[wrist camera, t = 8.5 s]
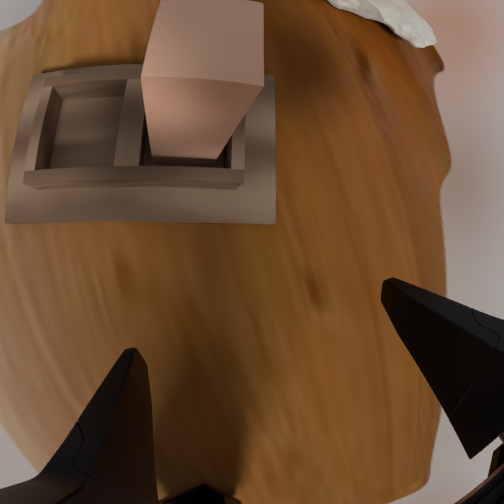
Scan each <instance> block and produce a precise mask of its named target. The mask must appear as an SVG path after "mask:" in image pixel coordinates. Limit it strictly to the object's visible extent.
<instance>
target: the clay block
mask: <svg viewBox="0 0 504 504" xmlns="http://www.w3.org/2000/svg"><path fill="white" fill-rule="evenodd" d="M141 83H142V92H143V100H144V107H145V114H146V121H147V128H148V135H149V141H150V147H151V153H152V159H153V164H175V165H201V166H213V164H214V163H215V161H216V160H217V158H218V156H219V155H220V153H221V151H222V150H223V148H224V146H225V145H226V143H227V142H228V140H229V138H230V137H231V135H232V134H233V132H234V131H235V129H236V127H237V126H238V124H239V123H240V121H241V120H242V118H243V117H244V115H245V114H246V112H247V111H248V109H249V108H250V106H251V105H252V103H253V102H254V100H255V99H256V97H257V96H258V94H259V93H260V91H261V90H262V88H263V87H264V6H263V3H260V2H255V1H249V0H161V1H160V5H159V8H158V11H157V14H156V18H155V21H154V24H153V28H152V32H151V35H150V39H149V43H148V47H147V51H146V55H145V59H144V64H143V68H142V73H141Z"/></svg>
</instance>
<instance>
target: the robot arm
mask: <svg viewBox="0 0 504 504" xmlns="http://www.w3.org/2000/svg"><path fill="white" fill-rule="evenodd" d="M381 302H382V305H383V306H384V308H385V310H386V312H387V314H388V316H389V318H390V320H391V322H392V324H393V326H394V328H395V330H396V331H397V333H398V335H399V337H400V338H401V340H402V341H403V343H404V345H405V346H406V348H407V349H408V351H409V352H410V354H411V356H412V357H413V359H414V360H415V362H416V364H417V365H418V367H419V368H420V370H421V372H422V373H423V375H424V377H425V378H426V380H427V382H428V383H429V385H430V387H431V388H432V390H433V392H434V394H435V395H436V397H437V399H438V401H439V402H440V404H441V406H442V408H443V409H444V411H445V413H446V414H447V417H448V418H449V421H450V422H451V424H452V426H453V428H454V430H455V432H456V434H457V435H458V437H459V439H460V441H461V443H462V445H463V447H464V449H465V451H466V453H467V455H468V457H469V459H472V458H473V457H474V456H475V455H477V454H478V453H479V452H481V451H482V450H483V449H484V448H485V447H486V446H487V445H489V444H490V443H491V442H492V441H494V439H496V438H497V437H499V438H500V439H501V441H502V444H501V445H500V446H499V447H498V448H497V449H496V450H494V452H493V455H492V460H491V465H490V469H489V474H488V478H487V479H485V480H484V481H483V482H482V483H481V484H479V485H478V486H477V487H476V488H474V489H473V490H472V491H471V492H469V493H468V494H467V495H466V496H464V497H463V498H462V499H460V500H459V501H458V502H456V503H455V504H504V320H502V319H500V318H497V317H494V316H491V315H488V314H485V313H483V312H480V311H478V310H475V309H473V308H471V309H470V307H468V306H465V305H462V304H460V303H458V302H455V301H453V300H450V299H448V298H445V297H443V296H440V295H438V294H435V293H433V292H430V291H428V290H425V289H422V288H420V287H417V286H415V285H412V284H410V283H407V282H404V281H402V280H399V279H396V278H393V277H392V278H389V279H386V280H384V281H383V284H382V292H381ZM0 504H159V502H158V493H157V484H156V473H155V460H154V445H153V424H152V402H151V394H150V386H149V378H148V368H147V364H146V362H145V360H144V359H143V357H142V356H141V354H140V353H139V351H138V350H137V349H136V348H129V349H125V350H124V351H123V353H122V354H121V356H120V357H119V358H118V360H117V361H116V363H115V364H114V366H113V367H112V369H111V370H110V372H109V373H108V375H107V376H106V378H105V379H104V381H103V382H102V383H101V385H100V386H99V388H98V390H97V391H96V393H95V394H94V396H93V397H92V399H91V400H90V402H89V403H88V405H87V406H86V408H85V409H84V411H83V413H82V414H81V416H80V417H79V419H78V422H76V423H75V425H74V427H73V428H72V430H71V431H70V433H69V434H68V436H67V437H66V439H65V440H64V442H63V443H62V444H61V446H60V447H59V449H58V450H57V451H56V453H55V454H54V455H53V457H52V458H51V459H50V461H49V462H48V463H47V465H46V466H45V467H44V469H43V470H42V471H41V472H40V473H39V474H38V475H37V476H36V477H34V478H32V479H30V480H28V481H25V482H22V483H19V484H15V485H12V486H9V487H6V488H2V489H0ZM163 504H238V503H237V502H236V501H234V500H232V499H230V498H229V497H227V496H225V495H224V494H220V493H218V492H217V491H215V490H214V489H212V488H210V487H209V486H207V485H201V486H199V487H197V488H195V489H193V490H191V491H189V492H187V493H185V494H183V495H181V496H179V497H176V498H174V499H172V500H170V501H167V502H165V503H163Z"/></svg>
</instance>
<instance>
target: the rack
mask: <svg viewBox="0 0 504 504" xmlns="http://www.w3.org/2000/svg"><path fill="white" fill-rule="evenodd" d="M142 68H143V64H122V65H105V66H93V67H83V68H75V69H67V70H61V71H54V72H48V73H43V74H38V75H33V78H32V81H31V84H30V87H29V90H28V93H27V96H26V100H25V103H24V107H23V110H22V114H21V118H20V122H19V126H18V130H17V135H16V139H15V144H14V149H13V155H12V161H11V167H10V174H9V182H8V190H7V201H6V215H5V223H10V224H21V223H58V222H198V223H240V224H276V116H275V76H273V75H267V74H264V87H263V88H262V90H261V91H260V93H259V94H258V96H257V97H256V99H255V100H254V102H253V103H252V105H251V106H250V108H249V109H248V111H247V112H246V114H245V115H244V117H243V118H242V120H241V121H240V123H239V124H238V126H237V127H236V129H235V131H234V132H233V134H232V135H231V137H230V138H229V140H228V142H227V143H226V145H225V146H224V148H223V150H222V151H221V153H220V155H219V156H218V158H217V160H216V161H215V163H214V164H213V166H201V165H175V164H153V159H152V153H151V147H150V141H149V135H148V128H147V121H146V114H145V107H144V100H143V92H142V83H141V73H142Z"/></svg>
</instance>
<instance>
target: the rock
mask: <svg viewBox="0 0 504 504" xmlns="http://www.w3.org/2000/svg"><path fill="white" fill-rule="evenodd" d="M327 1H329V2H330V3H331V4H332V5H333V6H334V7H336V8H338V9H343V10H346V11H349V12H352V13H355V14H357V15H359V16H361V17H363V18H366V19H372V20H376V21H379V22H382V23H384V24H386V25H387V26H388V27H389V28H390V29H391V30H392V31H393V33H394V34H396V35H398V36H399V37H401V38H403V39H404V40H405V41H407V42H408V43H409V44H411V45H412V46H414V47H421V48H425V46H429V45H434V44H435V43H437V40H436V38H435V36H434V33H433V31H432V28H431V27H430V26H429V25H428V24H427V23H426V22H425V21H424V19H423V18H421V17H420V16H419V15H418V14H417V13H416V12H414V10H412V9H411V8H410V6H409V5H408V4H407V3H406V2H405V1H404V0H327Z"/></svg>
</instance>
